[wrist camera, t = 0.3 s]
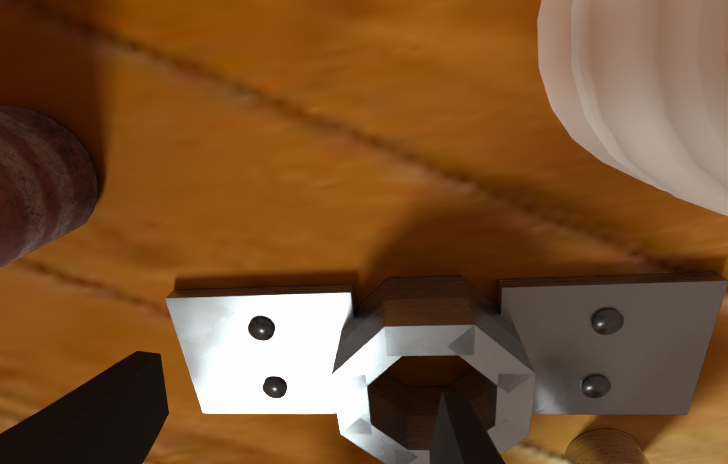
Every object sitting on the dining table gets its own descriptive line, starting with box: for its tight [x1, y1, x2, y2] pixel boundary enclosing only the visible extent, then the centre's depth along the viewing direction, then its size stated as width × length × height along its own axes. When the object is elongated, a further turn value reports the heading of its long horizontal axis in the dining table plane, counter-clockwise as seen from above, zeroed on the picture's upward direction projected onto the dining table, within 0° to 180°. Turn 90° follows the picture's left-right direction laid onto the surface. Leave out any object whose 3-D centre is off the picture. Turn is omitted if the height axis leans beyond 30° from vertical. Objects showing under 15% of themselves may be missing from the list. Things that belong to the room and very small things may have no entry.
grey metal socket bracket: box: [165, 272, 728, 464], centre depth 19 cm, size 27×9×4 cm, turn 95°
